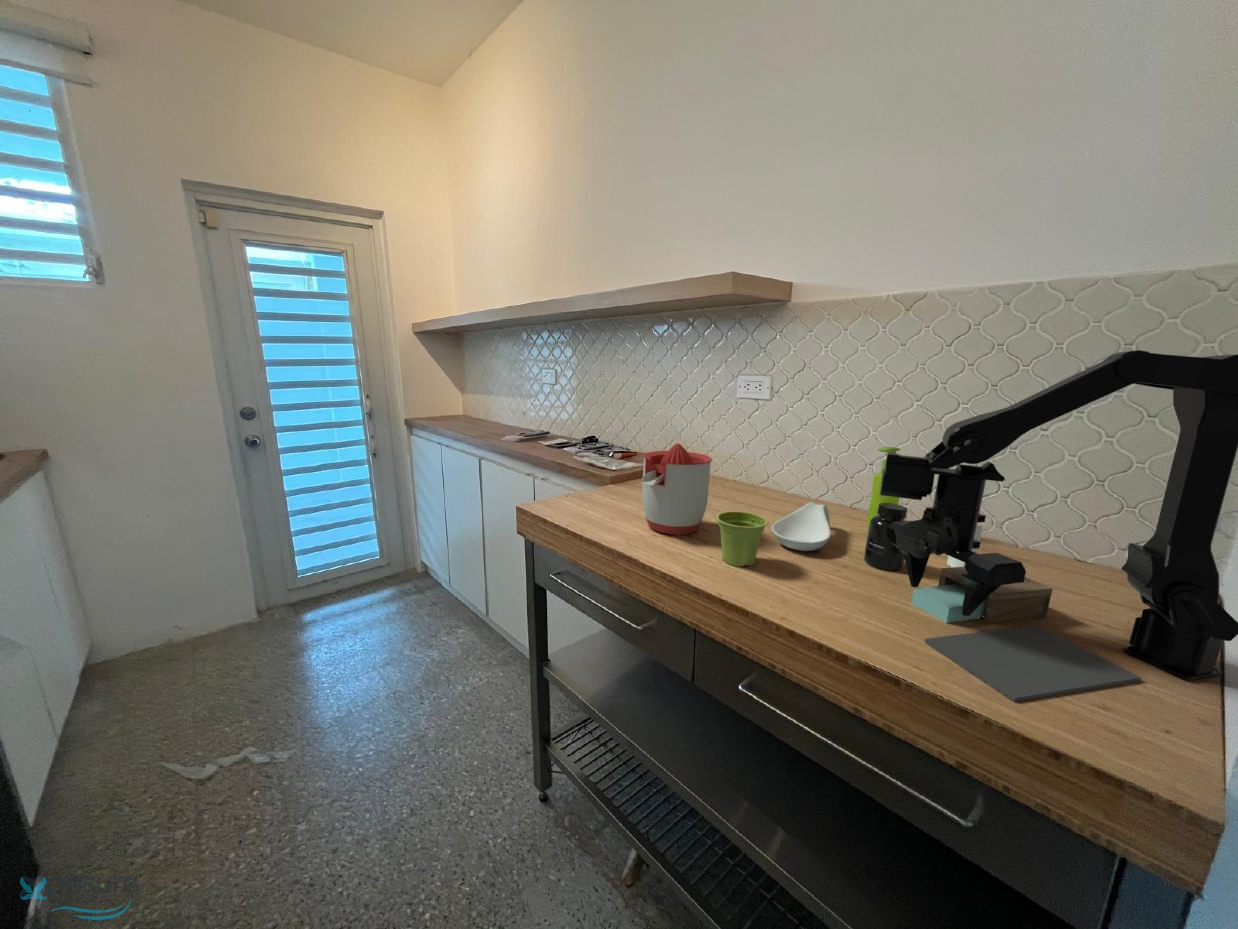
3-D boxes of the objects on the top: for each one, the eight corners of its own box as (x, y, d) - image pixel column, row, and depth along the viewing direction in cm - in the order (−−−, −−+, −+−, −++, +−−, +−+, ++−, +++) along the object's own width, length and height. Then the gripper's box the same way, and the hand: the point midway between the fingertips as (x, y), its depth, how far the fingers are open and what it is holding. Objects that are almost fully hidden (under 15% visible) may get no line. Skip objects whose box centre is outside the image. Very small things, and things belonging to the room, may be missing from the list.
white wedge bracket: (976, 573, 82) (971, 525, 84) (948, 578, 91) (944, 535, 94) (1000, 575, 81) (994, 526, 84) (968, 580, 90) (964, 536, 93)
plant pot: (757, 575, 84) (761, 530, 82) (707, 563, 88) (710, 520, 86) (767, 558, 92) (772, 516, 90) (721, 548, 96) (724, 508, 94)
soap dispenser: (858, 526, 113) (869, 445, 109) (877, 523, 116) (889, 444, 112) (880, 534, 108) (893, 450, 104) (899, 530, 111) (913, 448, 107)
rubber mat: (1140, 681, 57) (1141, 677, 57) (1013, 702, 53) (1014, 698, 53) (1035, 628, 68) (1036, 625, 68) (924, 642, 64) (924, 638, 64)
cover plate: (1012, 614, 73) (1016, 597, 73) (945, 625, 69) (949, 607, 69) (974, 597, 79) (978, 581, 78) (910, 606, 75) (913, 589, 74)
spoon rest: (821, 562, 91) (825, 528, 89) (762, 548, 97) (765, 515, 96) (844, 531, 110) (847, 502, 108) (793, 521, 116) (796, 493, 115)
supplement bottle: (863, 566, 89) (872, 507, 86) (863, 555, 95) (871, 499, 92) (904, 575, 86) (915, 513, 83) (902, 562, 92) (911, 504, 89)
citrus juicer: (620, 526, 107) (623, 441, 103) (670, 513, 119) (674, 436, 115) (671, 546, 96) (676, 452, 92) (720, 529, 107) (727, 445, 103)
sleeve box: (1045, 616, 72) (1052, 588, 71) (990, 623, 70) (996, 594, 69) (988, 589, 81) (993, 564, 80) (936, 594, 78) (941, 568, 77)
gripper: (865, 490, 76) (852, 577, 80) (972, 528, 59) (950, 638, 62) (921, 488, 79) (906, 573, 82) (1039, 524, 61) (1015, 631, 64)
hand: (938, 600), depth 72 cm, fingers open, 9 cm apart
